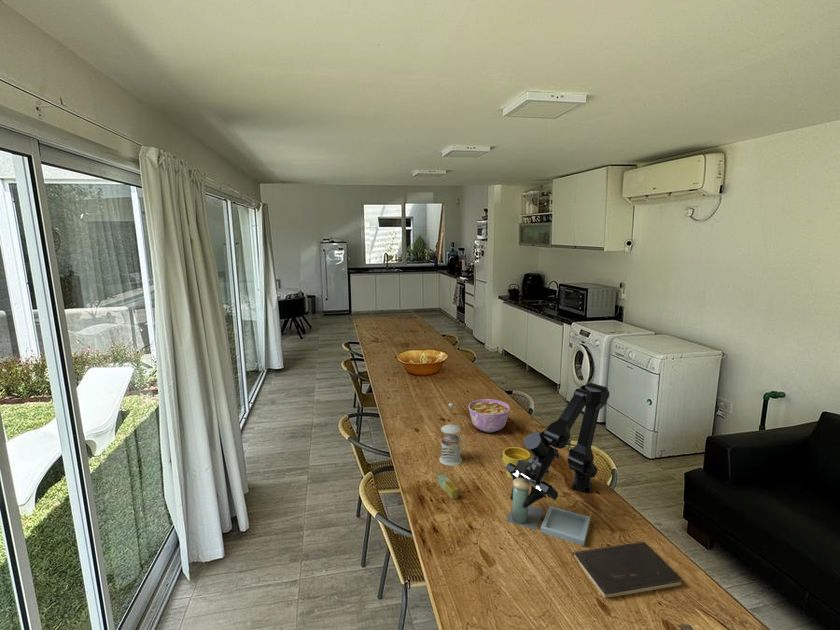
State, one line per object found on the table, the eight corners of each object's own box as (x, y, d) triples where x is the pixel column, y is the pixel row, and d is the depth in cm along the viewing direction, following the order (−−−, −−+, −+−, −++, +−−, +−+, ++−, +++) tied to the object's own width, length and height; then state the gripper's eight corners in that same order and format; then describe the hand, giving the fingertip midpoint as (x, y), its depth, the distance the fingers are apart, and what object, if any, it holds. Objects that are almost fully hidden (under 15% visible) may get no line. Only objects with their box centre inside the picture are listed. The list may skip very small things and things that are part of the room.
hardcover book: (682, 587, 117) (683, 580, 117) (604, 601, 113) (604, 593, 113) (642, 547, 133) (642, 540, 132) (572, 557, 129) (572, 550, 128)
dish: (549, 511, 149) (549, 505, 149) (589, 522, 143) (590, 516, 143) (540, 533, 138) (540, 527, 138) (583, 546, 132) (584, 540, 132)
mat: (515, 502, 154) (515, 501, 154) (544, 510, 150) (544, 509, 150) (505, 521, 144) (505, 520, 144) (535, 531, 139) (535, 529, 139)
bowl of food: (465, 435, 207) (465, 412, 205) (470, 418, 226) (470, 397, 224) (508, 440, 202) (509, 416, 200) (510, 422, 221) (510, 400, 219)
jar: (514, 512, 148) (515, 476, 146) (529, 517, 146) (531, 480, 143) (509, 521, 144) (510, 484, 141) (525, 526, 141) (526, 488, 139)
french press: (445, 452, 191) (445, 397, 187) (470, 458, 185) (470, 402, 181) (434, 461, 183) (434, 405, 179) (459, 469, 177) (460, 410, 173)
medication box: (437, 483, 167) (436, 474, 166) (443, 481, 168) (443, 472, 168) (452, 500, 156) (452, 490, 156) (459, 498, 158) (459, 488, 157)
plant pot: (529, 471, 175) (530, 448, 173) (528, 485, 165) (529, 461, 163) (503, 467, 178) (504, 445, 176) (501, 481, 168) (501, 457, 166)
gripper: (509, 440, 150) (485, 480, 146) (553, 463, 135) (528, 508, 131) (524, 455, 156) (501, 494, 152) (568, 478, 141) (544, 522, 137)
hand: (517, 503), depth 143 cm, fingers closed on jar, 5 cm apart
